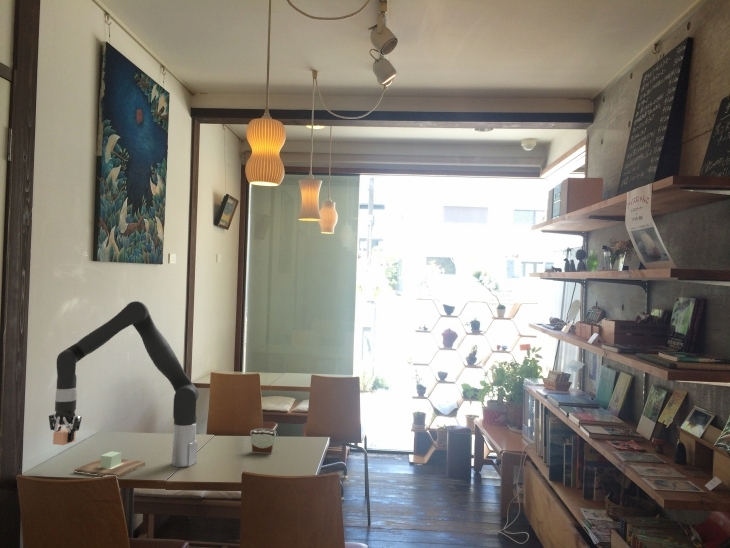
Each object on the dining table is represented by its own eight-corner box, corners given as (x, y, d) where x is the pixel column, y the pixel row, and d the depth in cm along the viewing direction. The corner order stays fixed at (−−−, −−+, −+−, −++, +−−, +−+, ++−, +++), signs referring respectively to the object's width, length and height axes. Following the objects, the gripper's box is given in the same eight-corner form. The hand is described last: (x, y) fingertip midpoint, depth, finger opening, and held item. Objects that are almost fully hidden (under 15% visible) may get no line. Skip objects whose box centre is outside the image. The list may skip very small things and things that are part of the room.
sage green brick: (120, 463, 219) (121, 452, 219) (110, 468, 213) (111, 456, 214) (110, 462, 220) (111, 451, 221) (100, 466, 215) (100, 455, 215)
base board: (144, 465, 223) (145, 461, 223) (118, 478, 206) (118, 474, 207) (103, 460, 227) (103, 456, 227) (74, 473, 211) (74, 469, 211)
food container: (278, 450, 251) (279, 428, 251) (274, 454, 245) (275, 432, 245) (253, 448, 252) (253, 427, 253) (249, 452, 246) (249, 430, 246)
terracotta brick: (75, 441, 216) (75, 430, 216) (62, 445, 210) (63, 433, 211) (65, 440, 218) (65, 429, 218) (52, 444, 212) (53, 432, 212)
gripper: (87, 398, 217) (86, 440, 216) (58, 396, 220) (56, 437, 219) (74, 401, 210) (72, 445, 209) (43, 399, 213) (41, 442, 212)
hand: (64, 441), depth 214 cm, fingers closed on terracotta brick, 5 cm apart
